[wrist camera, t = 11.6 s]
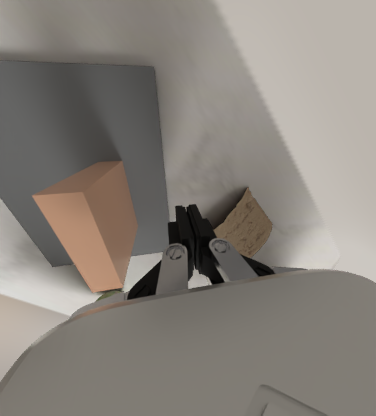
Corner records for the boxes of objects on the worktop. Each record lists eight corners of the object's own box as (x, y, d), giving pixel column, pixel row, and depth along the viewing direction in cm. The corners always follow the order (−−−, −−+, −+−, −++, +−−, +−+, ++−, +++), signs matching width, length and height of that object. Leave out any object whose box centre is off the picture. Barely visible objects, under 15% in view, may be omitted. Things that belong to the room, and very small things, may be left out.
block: (138, 226, 18) (122, 287, 11) (119, 228, 17) (92, 292, 10) (122, 160, 14) (82, 191, 7) (98, 161, 13) (31, 195, 7)
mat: (172, 247, 21) (172, 250, 21) (55, 263, 19) (52, 266, 19) (154, 69, 11) (153, 66, 11) (-92, 60, 9) (-107, 56, 9)
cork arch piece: (247, 181, 18) (259, 188, 16) (277, 221, 23) (290, 231, 21) (173, 245, 22) (174, 259, 20) (212, 269, 27) (216, 283, 24)
